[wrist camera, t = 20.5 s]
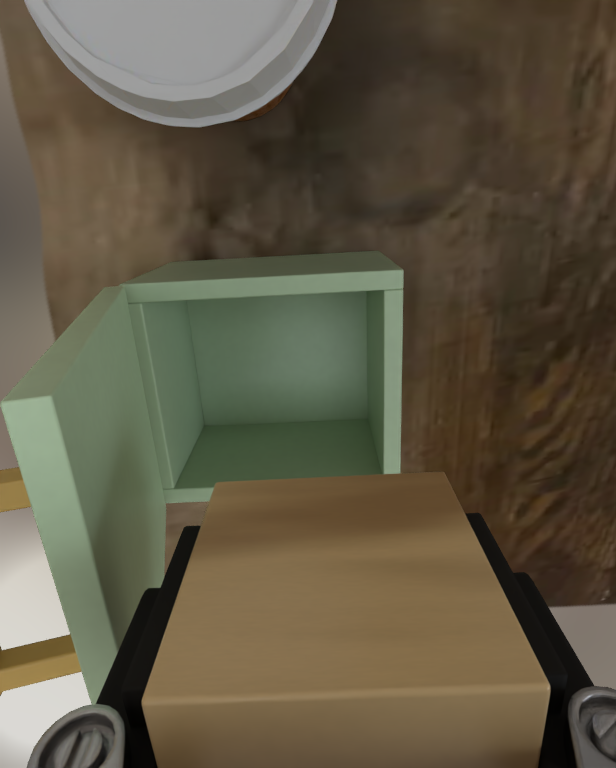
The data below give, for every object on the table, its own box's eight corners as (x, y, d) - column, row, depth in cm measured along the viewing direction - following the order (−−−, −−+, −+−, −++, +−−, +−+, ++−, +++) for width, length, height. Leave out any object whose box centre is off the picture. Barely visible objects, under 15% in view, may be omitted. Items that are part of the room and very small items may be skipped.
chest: (378, 250, 27) (404, 269, 19) (379, 423, 30) (399, 494, 23) (171, 261, 27) (118, 284, 20) (196, 431, 31) (160, 503, 23)
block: (215, 480, 11) (138, 703, 6) (444, 469, 10) (554, 688, 6) (239, 649, 12) (195, 926, 8) (436, 642, 12) (515, 917, 7)
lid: (51, 395, 8) (-402, 455, 7) (157, 799, 12) (-120, 885, 10) (124, 285, 19) (-38, 299, 18) (166, 507, 23) (34, 532, 22)
